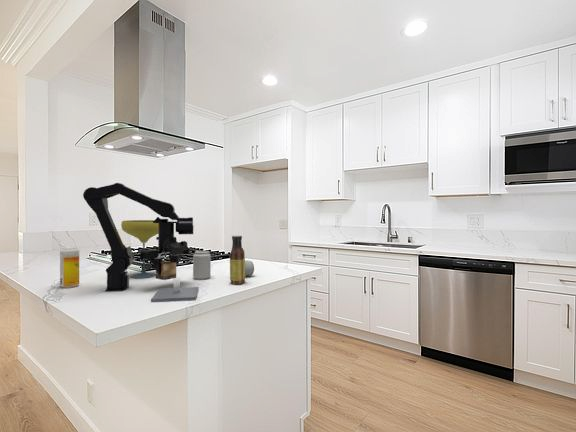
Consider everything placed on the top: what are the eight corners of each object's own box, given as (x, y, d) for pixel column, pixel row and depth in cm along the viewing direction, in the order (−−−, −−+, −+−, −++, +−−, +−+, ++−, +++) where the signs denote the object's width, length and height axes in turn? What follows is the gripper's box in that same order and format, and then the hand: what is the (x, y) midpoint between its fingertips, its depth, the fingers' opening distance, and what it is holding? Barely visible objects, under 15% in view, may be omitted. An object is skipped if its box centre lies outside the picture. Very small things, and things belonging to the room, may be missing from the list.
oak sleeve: (164, 280, 117) (164, 264, 117) (155, 278, 120) (155, 263, 120) (176, 277, 121) (176, 262, 121) (167, 276, 124) (167, 261, 124)
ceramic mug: (255, 277, 140) (255, 260, 140) (238, 279, 135) (238, 261, 135) (245, 273, 149) (245, 257, 149) (229, 275, 144) (229, 258, 144)
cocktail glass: (116, 275, 140) (116, 220, 140) (157, 270, 152) (157, 220, 152) (127, 282, 127) (128, 221, 126) (171, 276, 139) (171, 221, 138)
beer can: (82, 285, 120) (82, 247, 120) (66, 289, 115) (66, 249, 114) (73, 283, 123) (73, 246, 123) (56, 287, 117) (56, 248, 117)
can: (205, 280, 132) (205, 252, 131) (189, 279, 133) (189, 252, 133) (213, 276, 139) (213, 250, 139) (198, 276, 141) (198, 249, 140)
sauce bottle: (239, 280, 132) (239, 234, 132) (248, 283, 128) (248, 235, 127) (226, 283, 128) (226, 235, 127) (235, 285, 123) (235, 236, 123)
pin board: (151, 302, 100) (151, 283, 100) (159, 291, 114) (159, 274, 113) (195, 300, 103) (195, 282, 103) (198, 289, 117) (198, 273, 116)
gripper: (157, 237, 108) (157, 281, 108) (198, 234, 124) (198, 272, 124) (139, 235, 114) (138, 277, 114) (180, 232, 130) (180, 269, 130)
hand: (166, 274), depth 121 cm, fingers closed on oak sleeve, 5 cm apart
